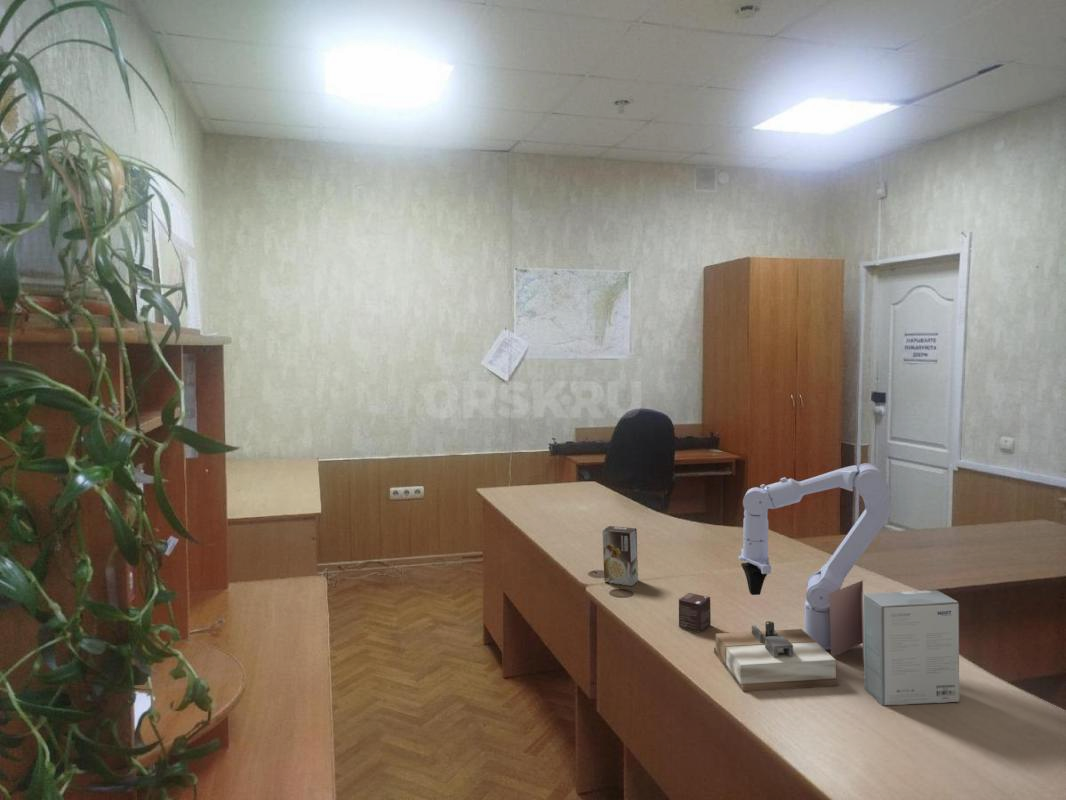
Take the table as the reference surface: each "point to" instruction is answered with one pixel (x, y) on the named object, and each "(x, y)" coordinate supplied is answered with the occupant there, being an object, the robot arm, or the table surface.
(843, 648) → the greeting card
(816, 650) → the wooden board with latch
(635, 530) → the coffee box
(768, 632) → the bolt
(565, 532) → the table surface
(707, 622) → the box
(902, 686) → the hard drive box
